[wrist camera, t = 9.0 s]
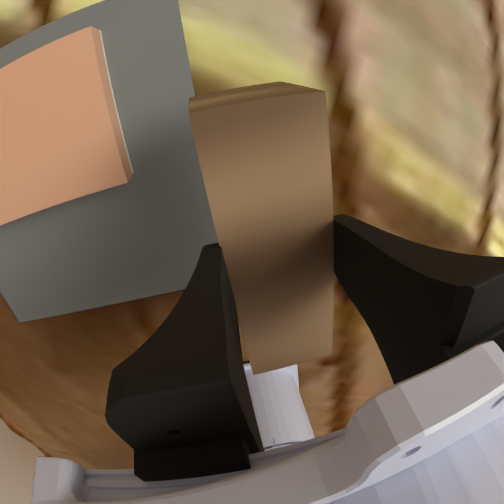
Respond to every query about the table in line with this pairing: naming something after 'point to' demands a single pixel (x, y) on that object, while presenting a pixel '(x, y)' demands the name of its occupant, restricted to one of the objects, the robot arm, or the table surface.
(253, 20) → the table surface
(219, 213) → the brown wooden block
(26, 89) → the tile
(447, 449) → the robot arm
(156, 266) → the slate mat
